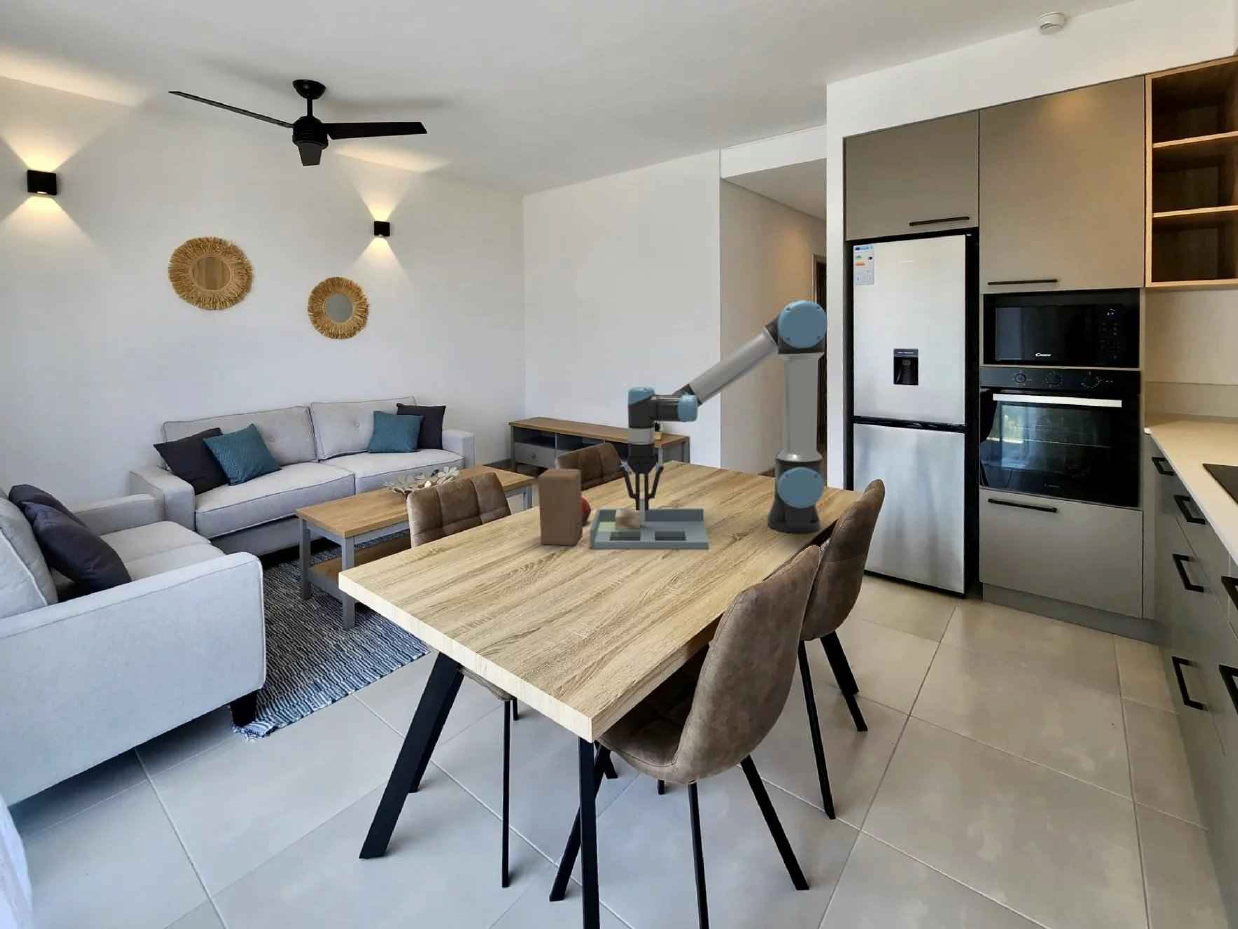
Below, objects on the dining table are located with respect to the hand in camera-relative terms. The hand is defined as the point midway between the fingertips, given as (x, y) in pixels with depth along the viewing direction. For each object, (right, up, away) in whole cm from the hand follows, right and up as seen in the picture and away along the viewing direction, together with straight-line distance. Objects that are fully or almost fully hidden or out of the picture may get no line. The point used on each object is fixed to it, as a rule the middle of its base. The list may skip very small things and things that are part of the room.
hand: (642, 521), depth 176 cm
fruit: (-20, -2, +12) cm, 23 cm away
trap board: (+2, -4, -3) cm, 6 cm away
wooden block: (-23, -5, -4) cm, 24 cm away
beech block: (-4, -2, +1) cm, 4 cm away
